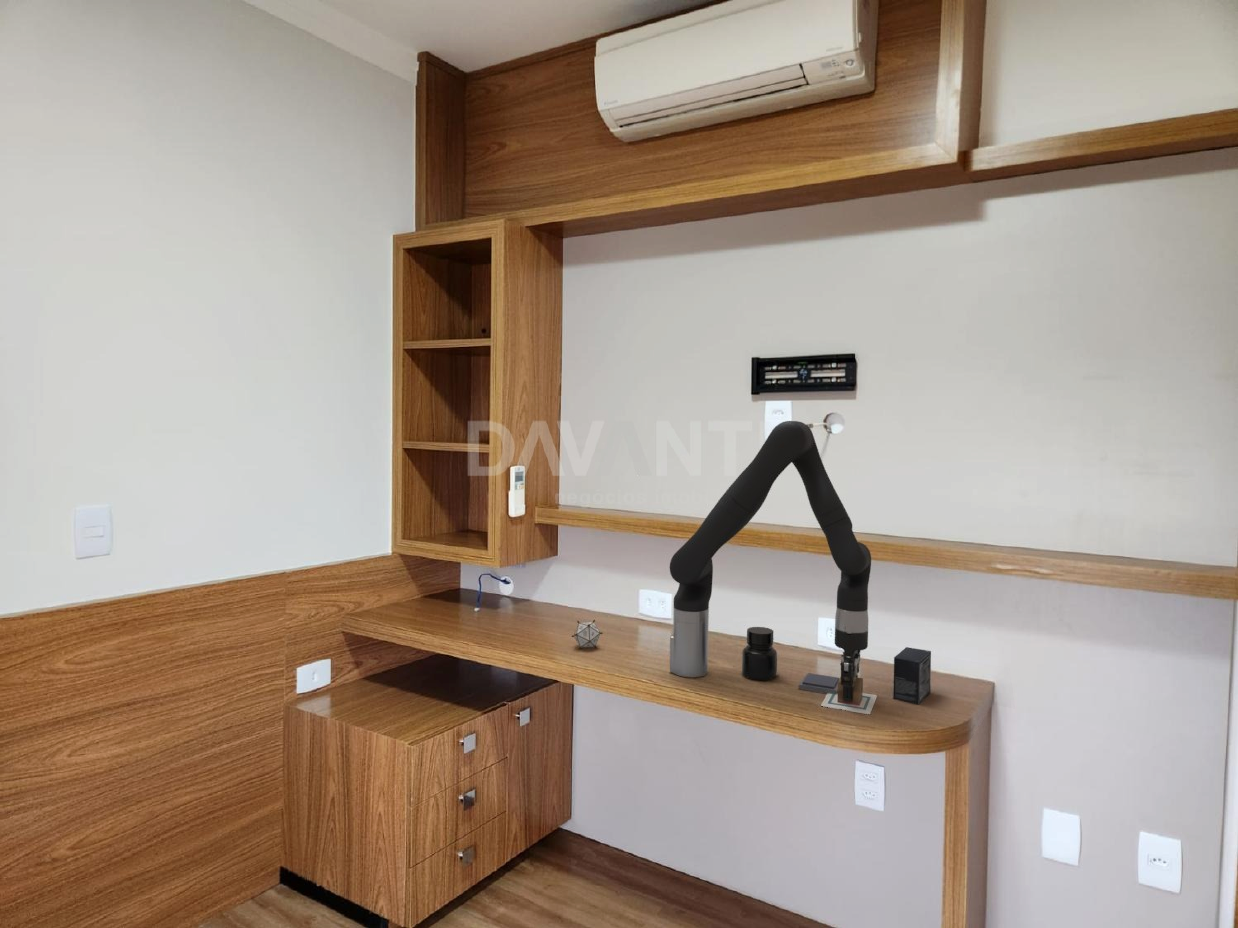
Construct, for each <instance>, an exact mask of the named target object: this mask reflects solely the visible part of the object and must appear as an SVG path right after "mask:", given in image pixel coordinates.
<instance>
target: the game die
mask: <svg viewBox="0 0 1238 928" xmlns="http://www.w3.org/2000/svg"><path fill="white" fill-rule="evenodd" d="M576 621H577V622H576V623H577V627H576V628H575V632H574V634H572V635H571V637H572V638H574V639H575V641H576V642H577V644H578V646H579V647H578V650H579V651H580V650H581V649H582V648H583V649H584V648H594V649H598V648H597V643H598V641H599V638H600V635H603V634H604V633H603V632H602V631H600V630H599V628H598V626H597V625H596V623H595V622H596V619H593V621H590V622H589V621H588V622H587V621H585V622H580V620H576Z"/></svg>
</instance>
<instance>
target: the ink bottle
mask: <svg viewBox="0 0 1238 928" xmlns="http://www.w3.org/2000/svg"><path fill="white" fill-rule="evenodd" d="M746 644H747V645H746V646H744V647H743V650H742V655H741V656H742V657H741V658H742V660H741V666H742V667H741V674H742V675H743V676H744V677H745V678H747V679H751V680H754V681H769V680H772V679H775V678H776V677H777V674H778V652H777V649H775V648H774V647H773V646H774V630H773V629H772V628H769V627H763V626H752V627H748V628H747V630H746Z"/></svg>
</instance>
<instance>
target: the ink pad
mask: <svg viewBox="0 0 1238 928" xmlns="http://www.w3.org/2000/svg"><path fill="white" fill-rule="evenodd" d="M839 679H840V677H837V676H831V675H825V674H824V675H823V674H817V673H812V672H810V673H809V672H808V673H806V674H805V676H804V677H803V678H802V680H801V681H800V682H799V683H798V690H800V691H801V690H802V691H806V690H807V692H813V693H819V692H820V693H821V694H825V695H827V694H828V693H830V694H837V692H838V681H839Z"/></svg>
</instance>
